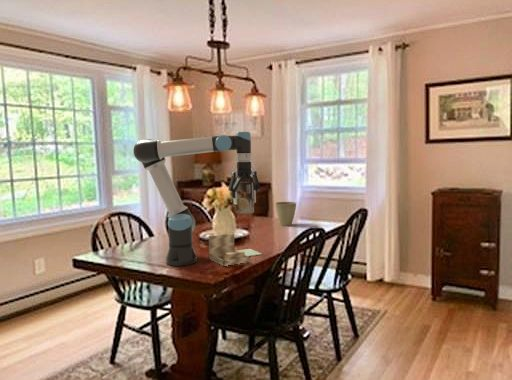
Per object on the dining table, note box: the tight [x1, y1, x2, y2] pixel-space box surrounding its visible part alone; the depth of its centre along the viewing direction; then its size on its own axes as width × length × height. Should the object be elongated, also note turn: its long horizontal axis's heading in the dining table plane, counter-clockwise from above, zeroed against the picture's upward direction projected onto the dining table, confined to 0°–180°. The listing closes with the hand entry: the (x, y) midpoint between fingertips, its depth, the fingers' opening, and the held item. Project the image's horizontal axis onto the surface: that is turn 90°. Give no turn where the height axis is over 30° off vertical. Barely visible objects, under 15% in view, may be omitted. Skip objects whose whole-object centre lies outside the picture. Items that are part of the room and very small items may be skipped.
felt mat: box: [237, 248, 262, 257], centre depth 235 cm, size 12×13×1 cm
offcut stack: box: [221, 250, 245, 260], centre depth 216 cm, size 11×4×5 cm, turn 120°
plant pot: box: [275, 201, 297, 227], centre depth 314 cm, size 15×15×16 cm
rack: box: [208, 232, 250, 267], centre depth 221 cm, size 14×17×12 cm
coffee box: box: [234, 181, 255, 214], centre depth 232 cm, size 9×6×16 cm
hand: (244, 203), depth 232 cm, fingers closed on coffee box, 10 cm apart
